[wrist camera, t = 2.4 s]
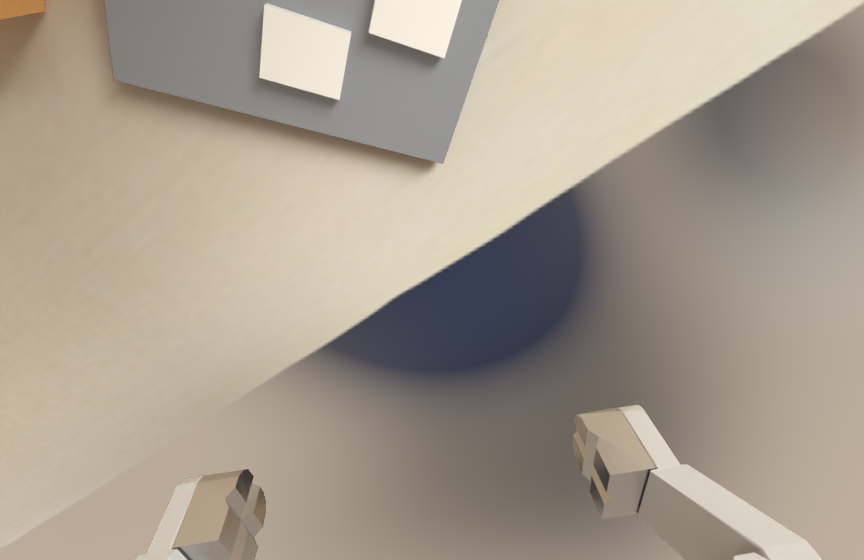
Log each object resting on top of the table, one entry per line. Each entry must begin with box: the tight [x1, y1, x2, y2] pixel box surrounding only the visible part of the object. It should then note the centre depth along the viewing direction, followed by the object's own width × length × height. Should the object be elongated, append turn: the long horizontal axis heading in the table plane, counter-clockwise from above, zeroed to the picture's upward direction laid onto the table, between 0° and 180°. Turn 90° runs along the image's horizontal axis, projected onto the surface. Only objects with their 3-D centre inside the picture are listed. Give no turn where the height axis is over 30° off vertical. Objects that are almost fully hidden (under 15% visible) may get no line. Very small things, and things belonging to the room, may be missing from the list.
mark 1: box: [259, 3, 351, 100], centre depth 26 cm, size 5×4×1 cm
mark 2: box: [368, 0, 462, 58], centre depth 25 cm, size 5×4×1 cm
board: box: [104, 0, 499, 164], centre depth 26 cm, size 22×14×2 cm, turn 73°
